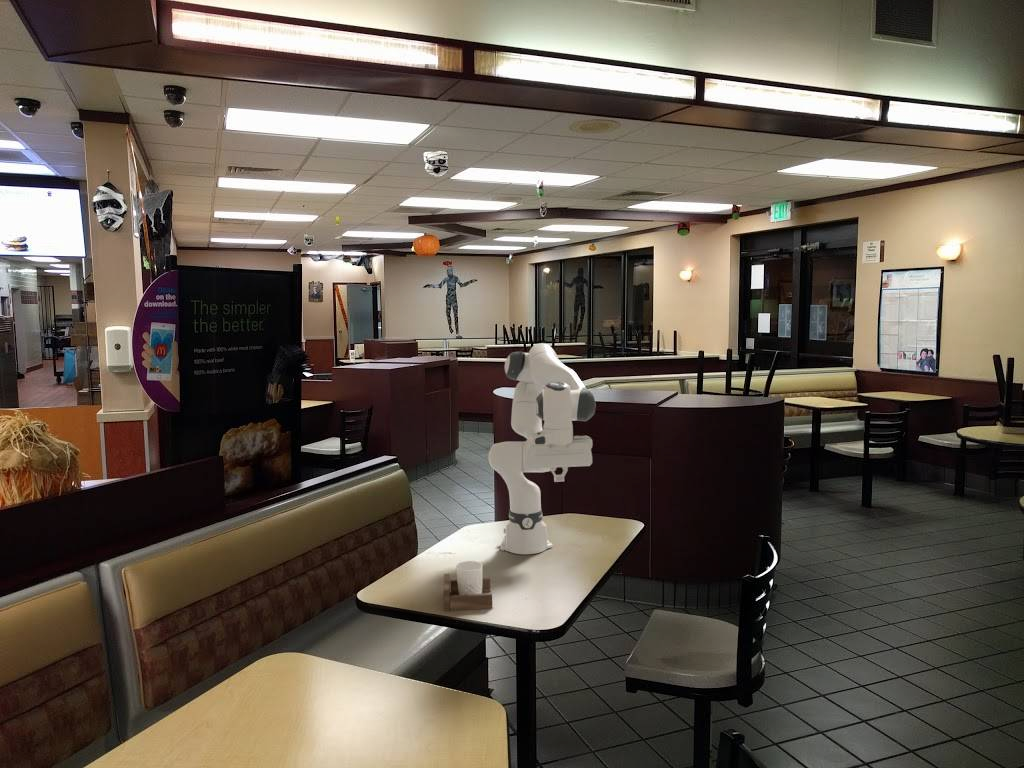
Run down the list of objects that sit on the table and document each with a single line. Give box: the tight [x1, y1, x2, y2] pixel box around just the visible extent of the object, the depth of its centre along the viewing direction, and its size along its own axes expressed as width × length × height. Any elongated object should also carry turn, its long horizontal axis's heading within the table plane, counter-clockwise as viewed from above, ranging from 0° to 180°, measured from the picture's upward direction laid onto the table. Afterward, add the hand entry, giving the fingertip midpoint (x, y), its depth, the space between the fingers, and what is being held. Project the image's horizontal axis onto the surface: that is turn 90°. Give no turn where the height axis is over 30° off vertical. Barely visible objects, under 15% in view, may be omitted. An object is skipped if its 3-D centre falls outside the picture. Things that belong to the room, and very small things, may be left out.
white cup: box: [455, 560, 484, 595], centre depth 201 cm, size 8×8×10 cm
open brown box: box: [443, 573, 494, 612], centre depth 199 cm, size 13×14×6 cm
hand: (559, 481), depth 205 cm, fingers closed
